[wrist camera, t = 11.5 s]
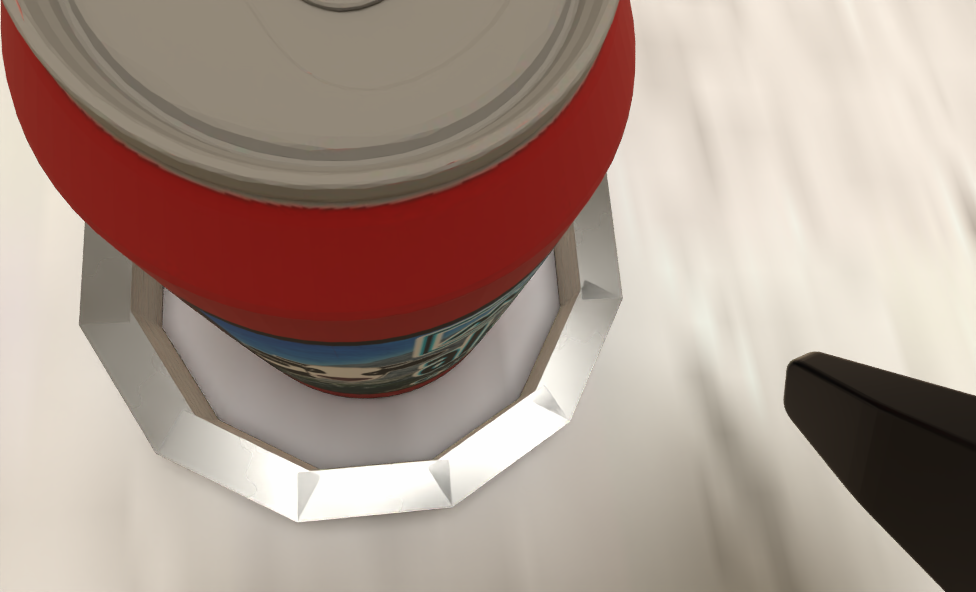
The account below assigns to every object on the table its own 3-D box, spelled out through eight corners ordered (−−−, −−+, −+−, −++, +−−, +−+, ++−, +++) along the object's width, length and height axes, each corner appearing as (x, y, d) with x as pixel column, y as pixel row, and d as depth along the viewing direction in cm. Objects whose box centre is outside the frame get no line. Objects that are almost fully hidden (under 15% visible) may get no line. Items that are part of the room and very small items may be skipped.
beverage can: (359, 460, 16) (275, 479, 4) (176, 261, 17) (-325, -189, 5) (550, 280, 18) (844, -42, 6) (380, 104, 18) (361, -496, 7)
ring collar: (632, 483, 17) (664, 486, 15) (108, 533, 15) (65, 544, 13) (579, 61, 19) (600, 18, 18) (129, 57, 18) (96, 8, 16)
